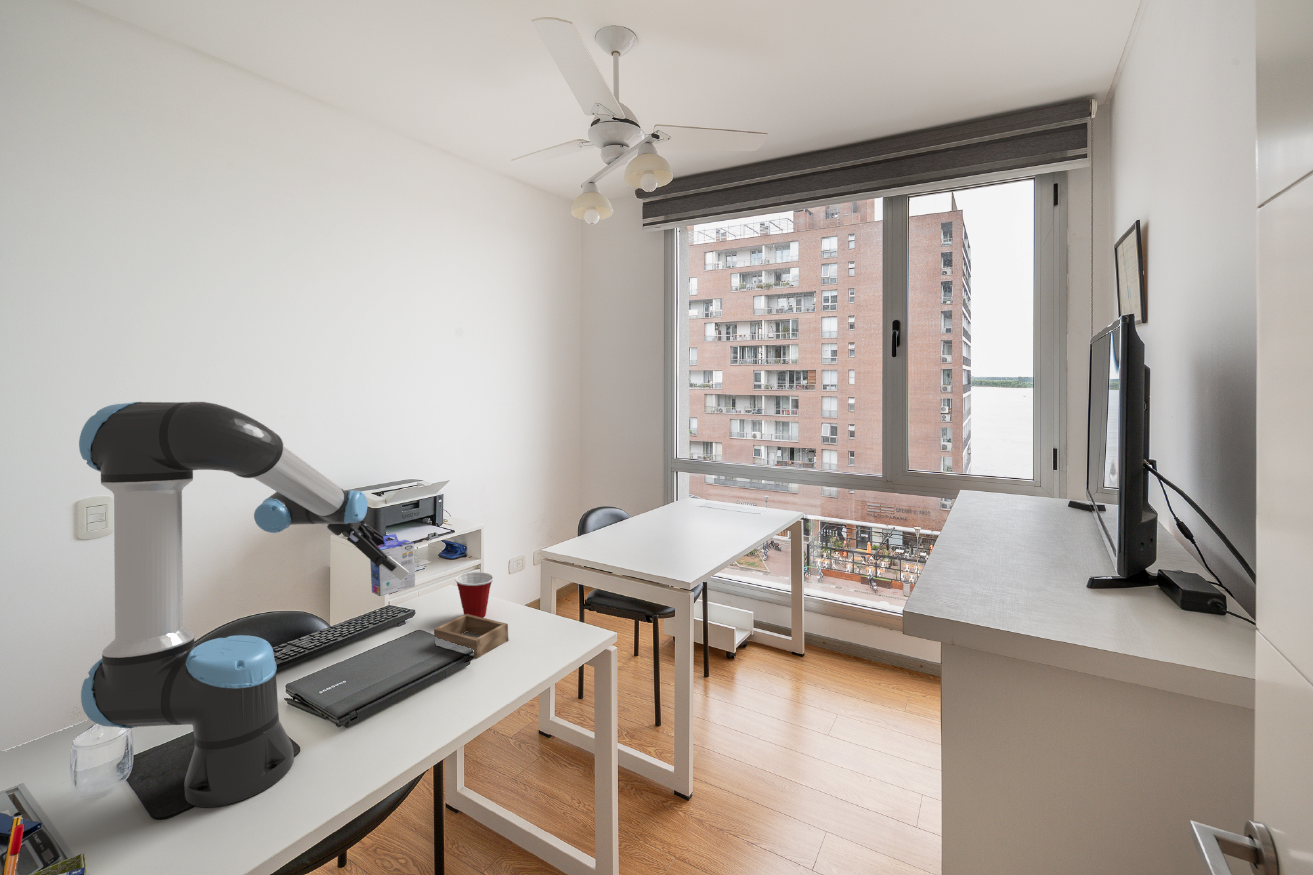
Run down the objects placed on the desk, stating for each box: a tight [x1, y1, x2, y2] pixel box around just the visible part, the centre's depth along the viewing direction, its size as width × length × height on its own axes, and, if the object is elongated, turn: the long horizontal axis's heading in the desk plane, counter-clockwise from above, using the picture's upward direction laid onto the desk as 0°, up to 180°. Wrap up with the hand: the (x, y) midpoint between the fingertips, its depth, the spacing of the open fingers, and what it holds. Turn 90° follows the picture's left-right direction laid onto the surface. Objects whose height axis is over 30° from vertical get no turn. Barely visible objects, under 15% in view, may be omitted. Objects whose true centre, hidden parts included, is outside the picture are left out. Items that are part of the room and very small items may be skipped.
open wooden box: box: [433, 614, 509, 659], centre depth 147 cm, size 11×15×4 cm
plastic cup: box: [454, 571, 495, 618], centre depth 164 cm, size 11×11×12 cm
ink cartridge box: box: [369, 533, 416, 597], centre depth 149 cm, size 10×6×14 cm, turn 143°
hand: (406, 570), depth 150 cm, fingers closed on ink cartridge box, 9 cm apart
